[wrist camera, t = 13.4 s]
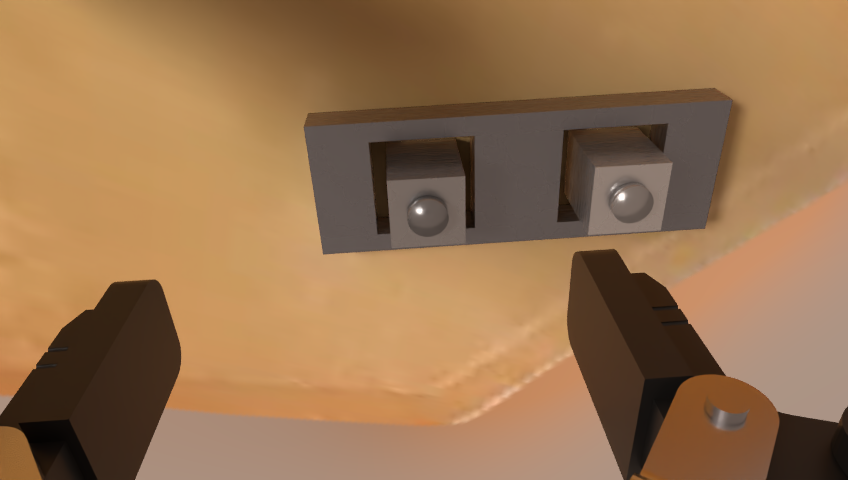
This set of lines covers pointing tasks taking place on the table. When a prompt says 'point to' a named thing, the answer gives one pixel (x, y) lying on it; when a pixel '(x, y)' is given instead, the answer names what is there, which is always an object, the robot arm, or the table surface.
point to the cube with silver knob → (616, 180)
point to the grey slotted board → (511, 161)
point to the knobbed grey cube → (425, 193)
